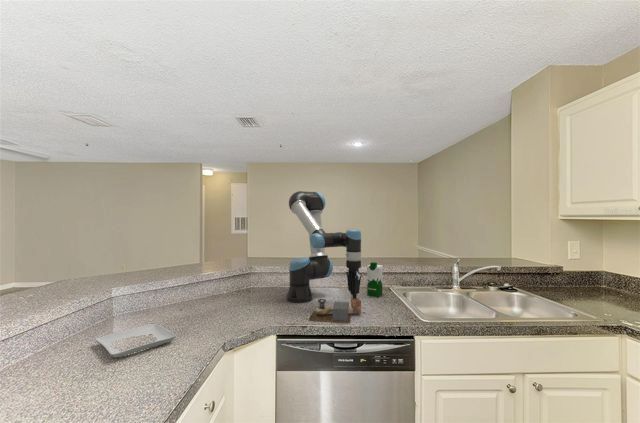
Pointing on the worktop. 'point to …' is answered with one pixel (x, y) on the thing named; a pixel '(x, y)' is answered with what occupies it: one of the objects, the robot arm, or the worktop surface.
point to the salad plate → (155, 329)
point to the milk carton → (374, 279)
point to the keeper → (338, 315)
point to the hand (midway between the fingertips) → (353, 306)
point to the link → (353, 308)
